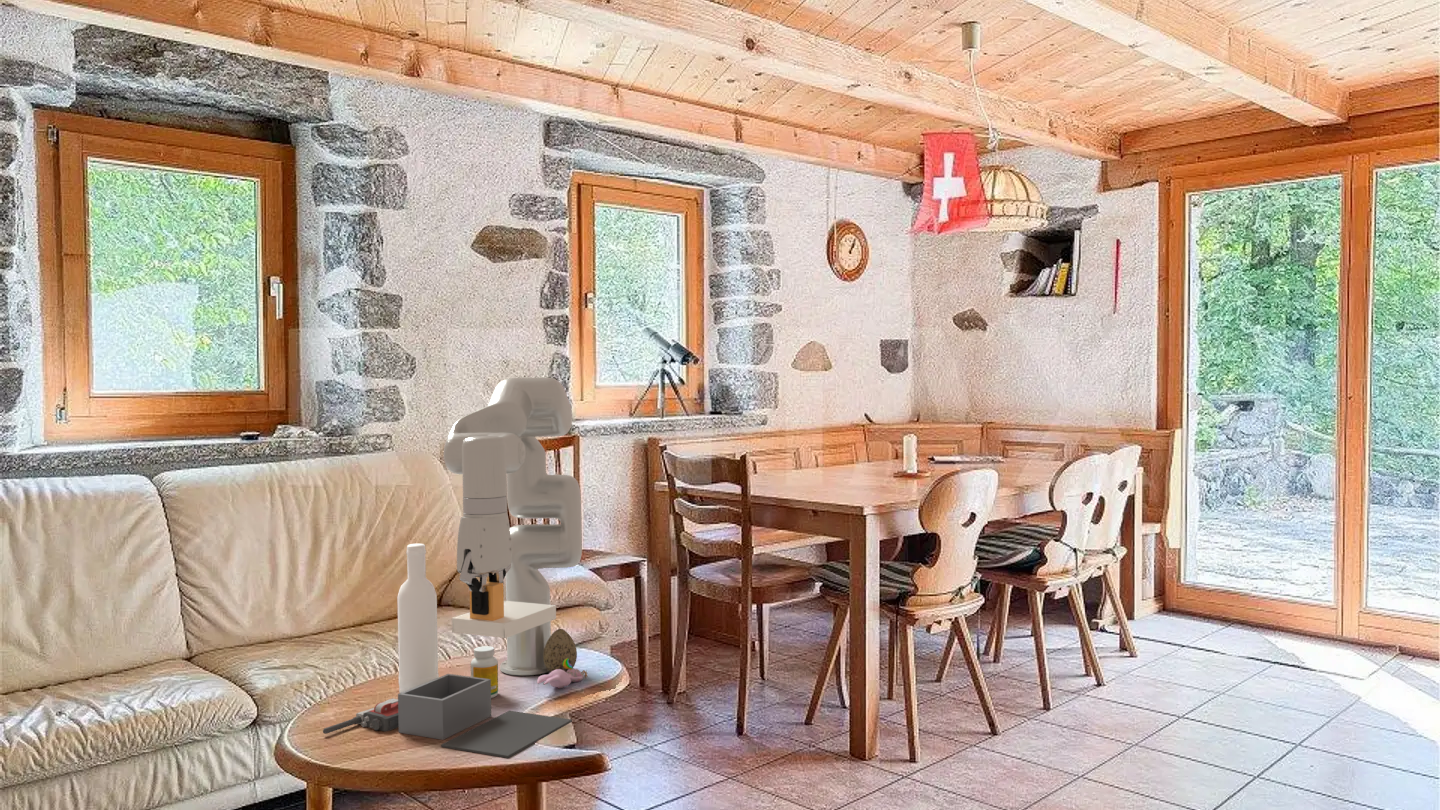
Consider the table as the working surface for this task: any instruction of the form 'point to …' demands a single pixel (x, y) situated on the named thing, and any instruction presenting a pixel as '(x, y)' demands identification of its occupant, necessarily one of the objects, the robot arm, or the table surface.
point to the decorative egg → (559, 651)
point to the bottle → (417, 623)
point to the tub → (444, 706)
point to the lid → (503, 616)
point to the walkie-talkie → (373, 718)
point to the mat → (507, 734)
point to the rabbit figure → (562, 676)
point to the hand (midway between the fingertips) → (486, 610)
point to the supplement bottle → (486, 666)
